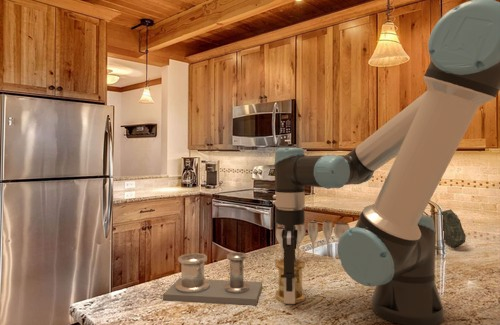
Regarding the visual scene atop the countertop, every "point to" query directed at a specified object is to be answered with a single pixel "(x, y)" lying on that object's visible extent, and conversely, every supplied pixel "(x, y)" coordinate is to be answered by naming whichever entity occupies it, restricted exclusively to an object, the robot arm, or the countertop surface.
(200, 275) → the wide pipe stub
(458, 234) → the rock
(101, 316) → the countertop surface
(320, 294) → the countertop surface
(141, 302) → the countertop surface
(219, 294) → the plate
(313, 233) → the goblet set
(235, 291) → the narrow pipe stub
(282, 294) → the gold flared knob
